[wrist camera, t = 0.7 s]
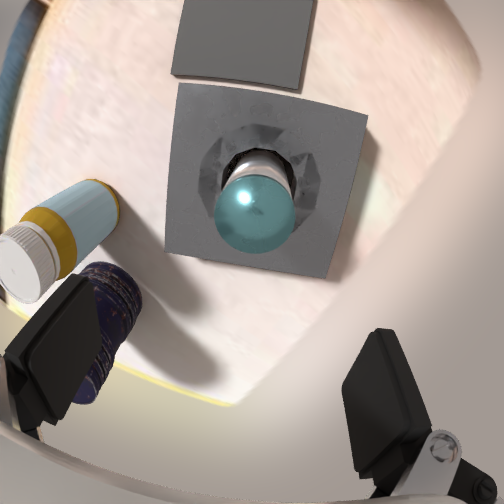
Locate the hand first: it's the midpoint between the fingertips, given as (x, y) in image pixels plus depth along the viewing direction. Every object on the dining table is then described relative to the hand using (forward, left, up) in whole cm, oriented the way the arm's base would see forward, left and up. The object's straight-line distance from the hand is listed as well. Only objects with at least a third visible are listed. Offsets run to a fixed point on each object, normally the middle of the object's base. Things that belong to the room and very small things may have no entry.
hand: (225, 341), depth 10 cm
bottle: (+6, -18, -23) cm, 29 cm away
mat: (-15, -4, -23) cm, 28 cm away
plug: (0, 0, -23) cm, 23 cm away
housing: (0, 0, -23) cm, 23 cm away
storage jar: (+18, -17, -23) cm, 33 cm away
